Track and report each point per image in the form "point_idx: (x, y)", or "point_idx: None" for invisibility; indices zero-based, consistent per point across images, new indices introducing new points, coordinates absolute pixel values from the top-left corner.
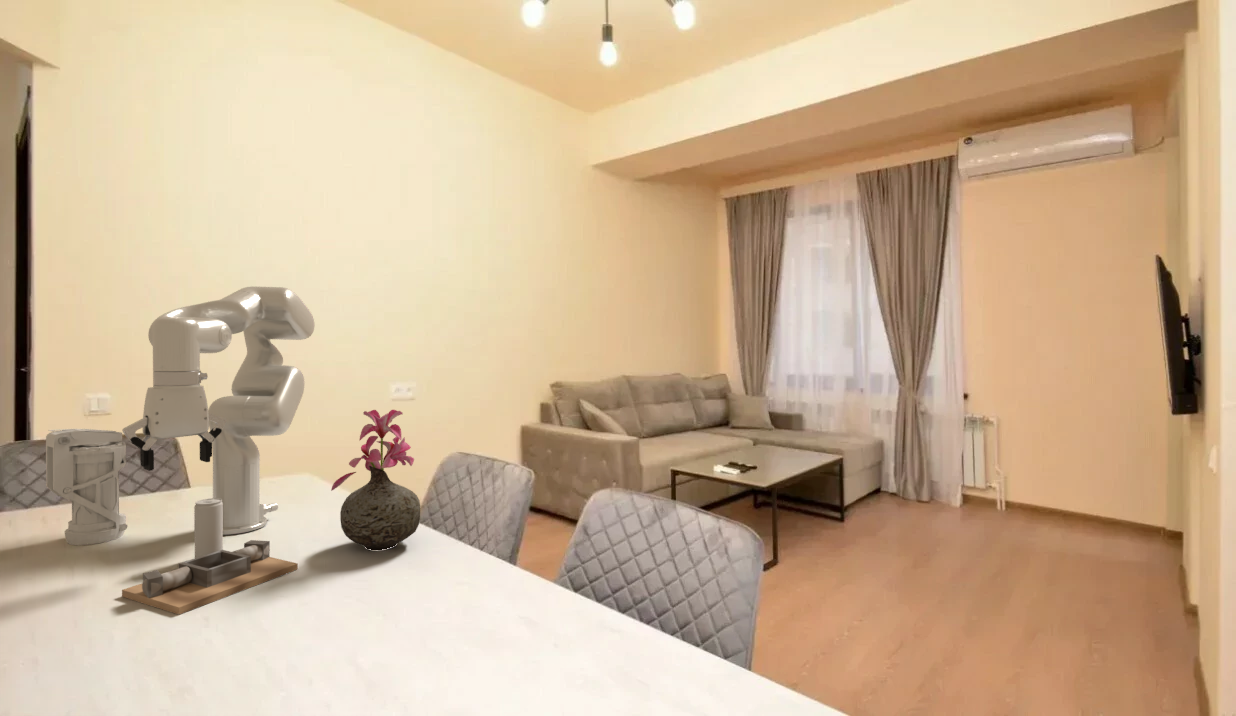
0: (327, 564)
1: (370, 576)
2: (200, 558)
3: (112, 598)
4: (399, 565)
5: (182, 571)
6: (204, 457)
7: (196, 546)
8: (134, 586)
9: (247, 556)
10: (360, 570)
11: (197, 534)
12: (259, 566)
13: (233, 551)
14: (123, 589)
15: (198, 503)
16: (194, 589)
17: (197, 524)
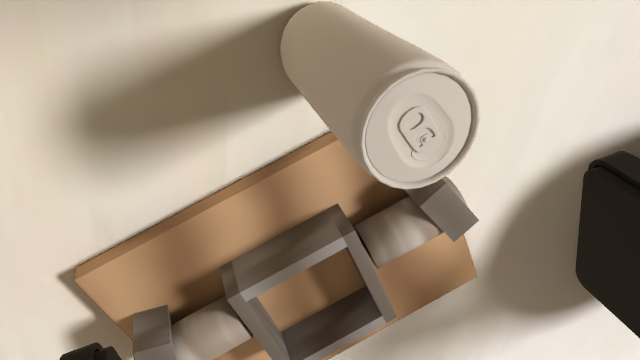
0: (525, 262)
1: (538, 356)
2: (286, 278)
3: (51, 267)
4: (602, 325)
5: (232, 348)
6: (607, 279)
7: (296, 83)
8: (106, 268)
9: (390, 315)
10: (545, 322)
11: (313, 107)
12: (406, 259)
13: (375, 258)
14: (78, 280)
15: (372, 143)
16: (249, 345)
17: (327, 125)
